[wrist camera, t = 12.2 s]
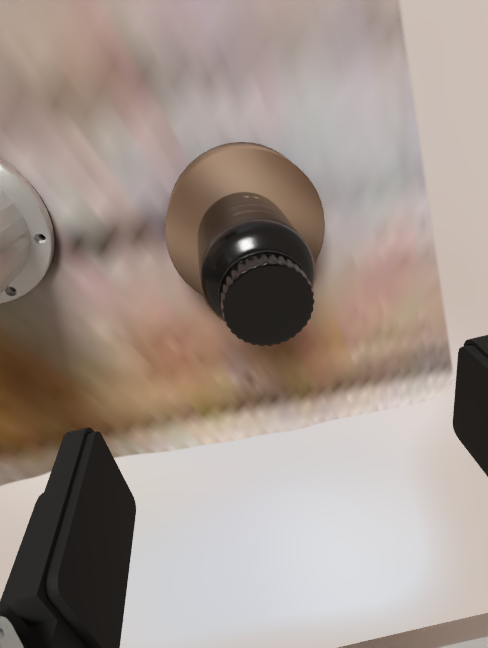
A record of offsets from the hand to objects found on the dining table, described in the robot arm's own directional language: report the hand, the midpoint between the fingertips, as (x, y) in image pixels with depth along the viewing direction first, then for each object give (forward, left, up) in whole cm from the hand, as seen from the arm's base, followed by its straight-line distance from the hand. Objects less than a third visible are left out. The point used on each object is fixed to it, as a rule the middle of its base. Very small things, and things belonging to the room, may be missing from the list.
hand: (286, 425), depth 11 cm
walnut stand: (-1, -2, -27) cm, 27 cm away
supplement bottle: (-1, -2, -23) cm, 23 cm away
